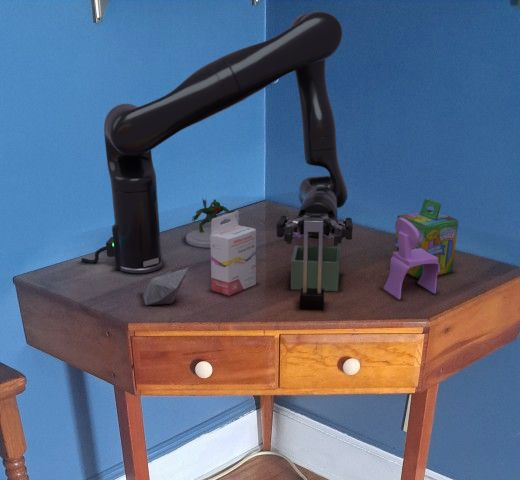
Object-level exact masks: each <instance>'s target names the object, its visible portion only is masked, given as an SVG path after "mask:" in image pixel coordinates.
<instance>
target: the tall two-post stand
mask: <svg viewBox="0 0 520 480" xmlns="http://www.w3.org/2000/svg"><path fill="white" fill-rule="evenodd" d="M323 224H324V218H313V217H305V220H304V237H303V246H304V257H303V288H301V290H300V292H299V310H302V311H303V310H305V311H306V310H307V311H324V307H325V306H324V305H325V291H324V289H322V258H323V247H324V238H323ZM309 232H319V239H318V246H319V247H318V284H317V288H307V281H308V246H309V237H308V233H309Z"/></svg>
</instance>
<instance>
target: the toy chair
mask: <svg viewBox="0 0 520 480" xmlns="http://www.w3.org/2000/svg"><path fill="white" fill-rule="evenodd" d="M394 229H395V232H396V231H397V233H398V243H399V251H397V252H394V251H392V256H391V258H390V260H389V261H390V262H389V275H388V278H387V280H386V282H385V284H384V286H383V288H382V289H383V290H384V291H386V292H387V293H388V294H390V295H391V296H393V297H394V298H396V299H397V300H401V299H402V289H403V281H404V279H405V276H406V275H407V271H408V270H409V268H411V267H413V266H417V265H421V264H423V265H424V270H423V273H422V276H421V278H420V280H419V279H418V281H417V284H418V285H420V286H421V287H423V288H424V289H426V290H427V291H429V292H431V293H432V294H434V295H435V294H437V282H438V276H439V275H438V270H439V263H438V257H436V256H434V255H431V254H430V253H428V252H426V251H425V250H423V249H422V248H418V249H413V248H414V247H417V246H418V245H419V239H420V236H419V232H418V230H417V229H416V227H415V226H414V225H413V224H412V223H410V222H409V221H408V220H406V219H404V218H402V217H400V218H398V219H396V221H395V223H394ZM412 249H413V250H412ZM437 275H438V276H437Z"/></svg>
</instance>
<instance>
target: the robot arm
mask: <svg viewBox="0 0 520 480" xmlns="http://www.w3.org/2000/svg"><path fill="white" fill-rule="evenodd" d="M342 38H343V28H342V25H341V23H340V21H339V19H338V18H336V17H335V16H334V15H333V14H331V13H329V12H327V11H323V10H315V11H310V12H306V13H302V14H300V15H298V16H297V17H296V18H294V19H293V21H292V23H291V24H290V26H289V28H288V29H286V30H284V31H282V32H281V33H280V34H278V35H276V36H273V37H272V38H270V39H267V40H265V41H262V42H258V43H256V44H252V45H249V46H245V47H243V48H240V49H238V50H234V51H232V52H230V53H227V54H225V55H223V56H221V57H219V58H217V59H215V60H213V61H211V62H209V63H207V64H205V65H203V66H201V67H200V68H198V69H197V70H195V71H194V72H193V73H192V74H190V75H189V76H187V78H185V79H184V80H183V81H182V82H181V83H180V84H179V85H178V86H176V87H175V88H174V89H173V90H171V91H170V92H169V93H166V94H165V95H163V96H161V97H160V98H157V99H155V100H152V101H149V102H148V103H146V104H143V105H140V106H137V105H135V104H131V103H121V104H117V105H115V106H113V107H112V108H111V109H110V110H109V111H108V113H107V114H106V116H105V119H104V123H103V133H104V145H105V154H106V162H107V171H108V175H109V178H110V187H111V199H112V206H113V207H112V209H113V220H114V224H113V225H112V227H111V232H112V236H110V238H109V239H108V240H107V241H106V242H105V246H102V247H100V248H98V249H97V250H96V251H95V252H94V259H89V258H85V257H81V262H82V263H86V264H91V265H92V264H96V263H97V262H99V259H100V254H101V253H102V252H105V251H106V257H107V258H114V264H115V270H116V271H121V272H124V273H126V274H127V273H128V274H147V273H152V272H155V271H158V270H160V269H161V268H162V267H163V258H162V245H161V231H160V217H159V216H160V214H159V200H158V188H157V187H158V185H157V184H158V183H157V174H156V170H155V167H154V163H153V157H152V150H153V149H155V148H156V147H158V146H159V145H161V144H162V143H164V142H165V141H167V140H168V139H170V138H172V137H173V136H174V135H176V134H177V133H179V132H181V131H182V130H184V129H187V128H189V127H192V126H193V125H195V124H198V123H201V122H203V121H205V120H207V119H208V118H211V117H213V116H215V115H217V114H219V113H221V112H223V111H225V110H227V109H230V108H231V107H233V106H236V105H238V104H240V103H241V102H243V101H245V100H246V99H248V98H250V97H252V96H254V95H255V94H257V93H259V92H260V91H262V90H264V89H265V88H267V87H268V86H270V85H272V84H273V83H274V82H276V81H277V80H280V79H281V78H282V77H284V76H286V75H288V74H290V73H293V72H295V78H296V84H297V89H298V90H297V91H298V96H299V105H300V114H301V127H302V143H303V144H302V145H303V156H304V161H305V163H306V165H309V166H311V167H318V168H319V167H321V168H324V169H325V170H326V171H327V172H328V173H329V175H319V176H317V175H316V176H308V177H305V178H304V179H302V180H301V182H300V183H299V186H298V199H299V202H300V208H299V211H298V213H297V214H298V215H297V217H295V218H294V219H289V217H288V216H287V215H285V214H284V215H280V217H279V219H278V221H277V222H276V237H277V238H282V237H283V241H284V242H286V244H287V245H291V244H292V241H293V238H296V239H300V238H301V239H302V238H304V220H305V217H313V218H324V224H323V239H324V238H326V239H328V240H333V247H339V246H338V244H342V241H343V239H344V238H345V240H346V241H347V240H348V241H350V240H351V241H352V239H353V228H354V227H353V218H352V217H346V218H345V219H343V220H342V221H338V209H339V208H342V207H344V206H345V204H346V202H347V200H348V194H349V193H348V187H347V184H346V181H345V178H344V176H343V173H342V169H341V166H340V163H339V157H338V147H337V129H336V122H335V121H336V120H335V116H334V112H333V108H332V105H331V100H330V97H329V92H328V88H327V81H326V80H327V79H326V59H329V58H330V57H331V56H332V55H334V54H335V53H336V51H337V50H338V49H339V47H340V45H341V43H342V40H343V39H342ZM308 238H310V239H314V240H319V232H309V233H308Z"/></svg>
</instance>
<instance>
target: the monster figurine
mask: <svg viewBox="0 0 520 480" xmlns="http://www.w3.org/2000/svg"><path fill="white" fill-rule="evenodd" d="M202 205H203V207H201V208H199V209H196V211H195V215H194V216H193V215H192V219H191V220H192V222H195V221H196V220H198V219H199V217H200V216H201V215H202V214H205V215H206V216H205V218H204V219H203V220H201V222H200V223H199V227H198V229H195V230H192V231H190V232H188V233H186V236H185V241H186V243H187V244H188V245H191V246H194V247H197V248H209V249H211V244H210V235H211V227H203V226H205V224H207V223H211V221H212V219H213V218H217V217H218V216H217V215H219V214H220V213H222V212H225V213H226V214H229V213H232V212H235V211H236V210H229V209H228V207H226V206H224V205H221V203H220V202H219V201H217V199H216V198H215V199H213V200H212V201H211V202H210V205H209V206H208V207H207V199H204V197H202ZM220 224H222V222H221V223H220Z"/></svg>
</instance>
